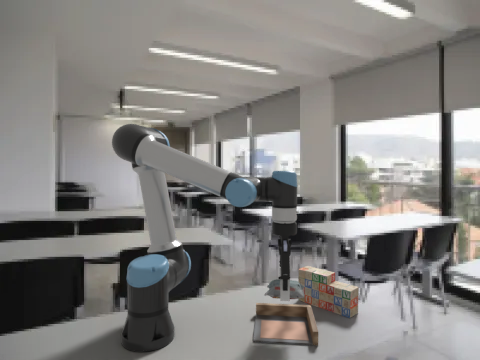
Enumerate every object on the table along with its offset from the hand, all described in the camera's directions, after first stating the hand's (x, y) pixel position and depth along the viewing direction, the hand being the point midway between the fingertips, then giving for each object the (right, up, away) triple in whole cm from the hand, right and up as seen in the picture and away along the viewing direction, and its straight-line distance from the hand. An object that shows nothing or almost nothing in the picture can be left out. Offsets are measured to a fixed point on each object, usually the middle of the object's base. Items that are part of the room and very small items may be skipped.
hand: (284, 294), depth 99 cm
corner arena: (0, -12, +2) cm, 12 cm away
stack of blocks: (+18, -11, +19) cm, 29 cm away
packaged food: (0, -1, 0) cm, 1 cm away
